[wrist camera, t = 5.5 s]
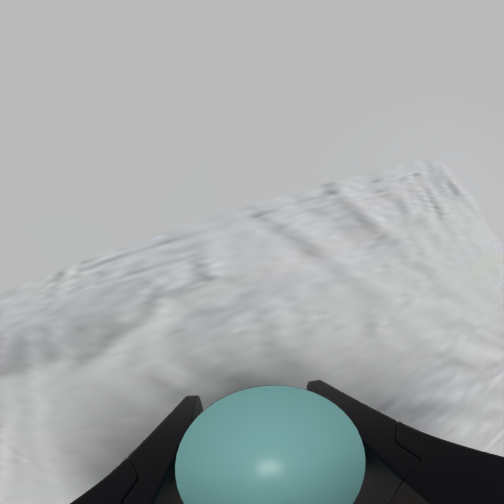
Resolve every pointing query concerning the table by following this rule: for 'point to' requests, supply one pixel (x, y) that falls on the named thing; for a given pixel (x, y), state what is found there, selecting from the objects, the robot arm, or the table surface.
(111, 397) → the table surface
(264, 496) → the marker
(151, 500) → the robot arm
